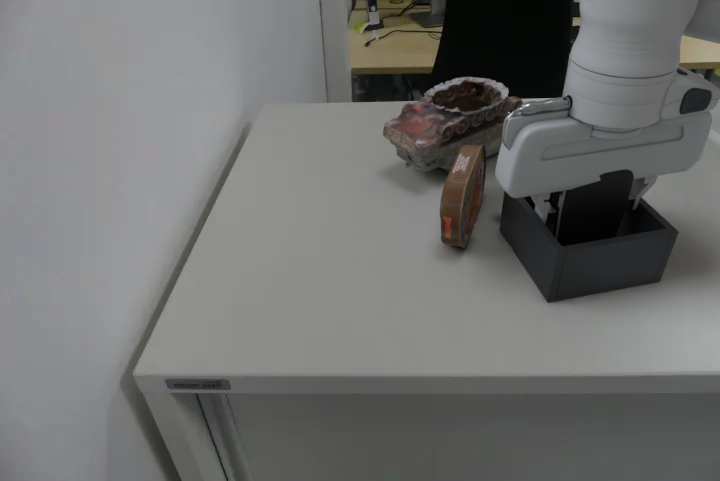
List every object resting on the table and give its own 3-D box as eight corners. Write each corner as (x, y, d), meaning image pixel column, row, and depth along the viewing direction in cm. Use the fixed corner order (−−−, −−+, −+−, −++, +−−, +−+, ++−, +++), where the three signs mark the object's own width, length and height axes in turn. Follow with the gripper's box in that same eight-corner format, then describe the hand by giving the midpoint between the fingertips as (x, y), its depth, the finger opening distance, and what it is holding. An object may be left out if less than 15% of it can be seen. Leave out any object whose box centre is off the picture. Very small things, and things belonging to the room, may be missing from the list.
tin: (461, 262, 62) (466, 200, 57) (433, 257, 63) (436, 195, 58) (486, 191, 73) (492, 133, 68) (462, 187, 74) (466, 130, 69)
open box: (596, 213, 68) (609, 167, 64) (660, 281, 59) (679, 231, 55) (499, 230, 67) (505, 183, 63) (547, 302, 57) (558, 252, 53)
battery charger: (596, 235, 64) (620, 146, 57) (613, 256, 61) (641, 165, 54) (538, 243, 64) (555, 155, 56) (552, 265, 61) (572, 174, 53)
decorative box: (544, 163, 78) (556, 98, 72) (427, 210, 71) (429, 141, 65) (482, 127, 87) (488, 67, 81) (373, 165, 80) (370, 102, 74)
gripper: (521, 120, 47) (503, 248, 56) (739, 89, 50) (690, 216, 58) (492, 91, 52) (480, 212, 60) (692, 64, 54) (653, 184, 63)
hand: (584, 214), depth 59 cm, fingers open, 8 cm apart
